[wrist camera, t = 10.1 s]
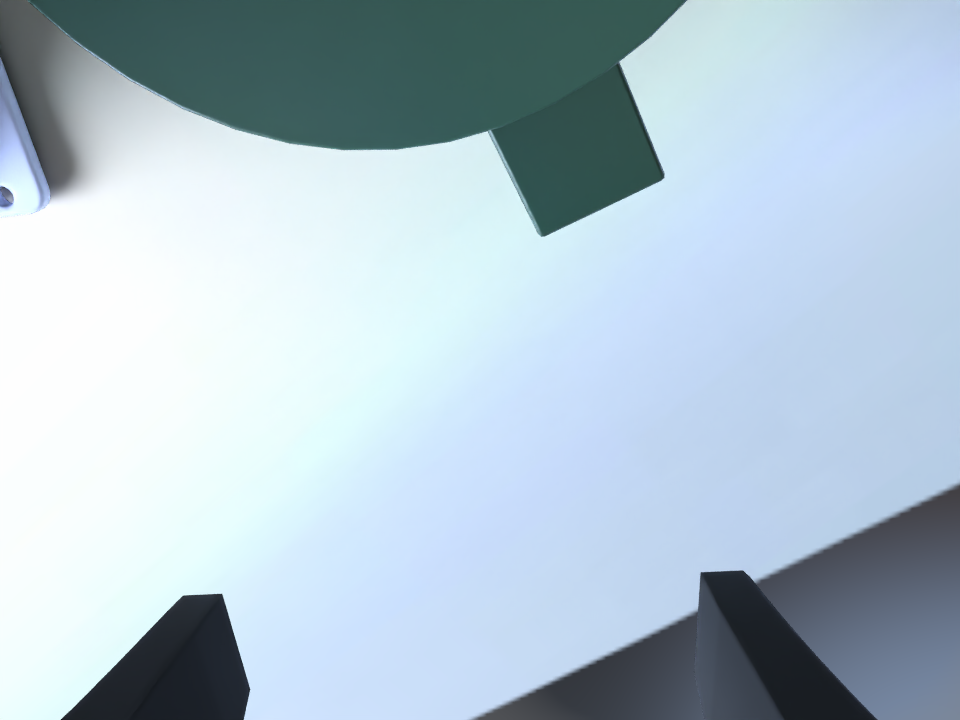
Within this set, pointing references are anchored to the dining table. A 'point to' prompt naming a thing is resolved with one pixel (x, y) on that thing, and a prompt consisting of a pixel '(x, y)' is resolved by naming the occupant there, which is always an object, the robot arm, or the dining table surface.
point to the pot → (579, 153)
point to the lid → (360, 60)
